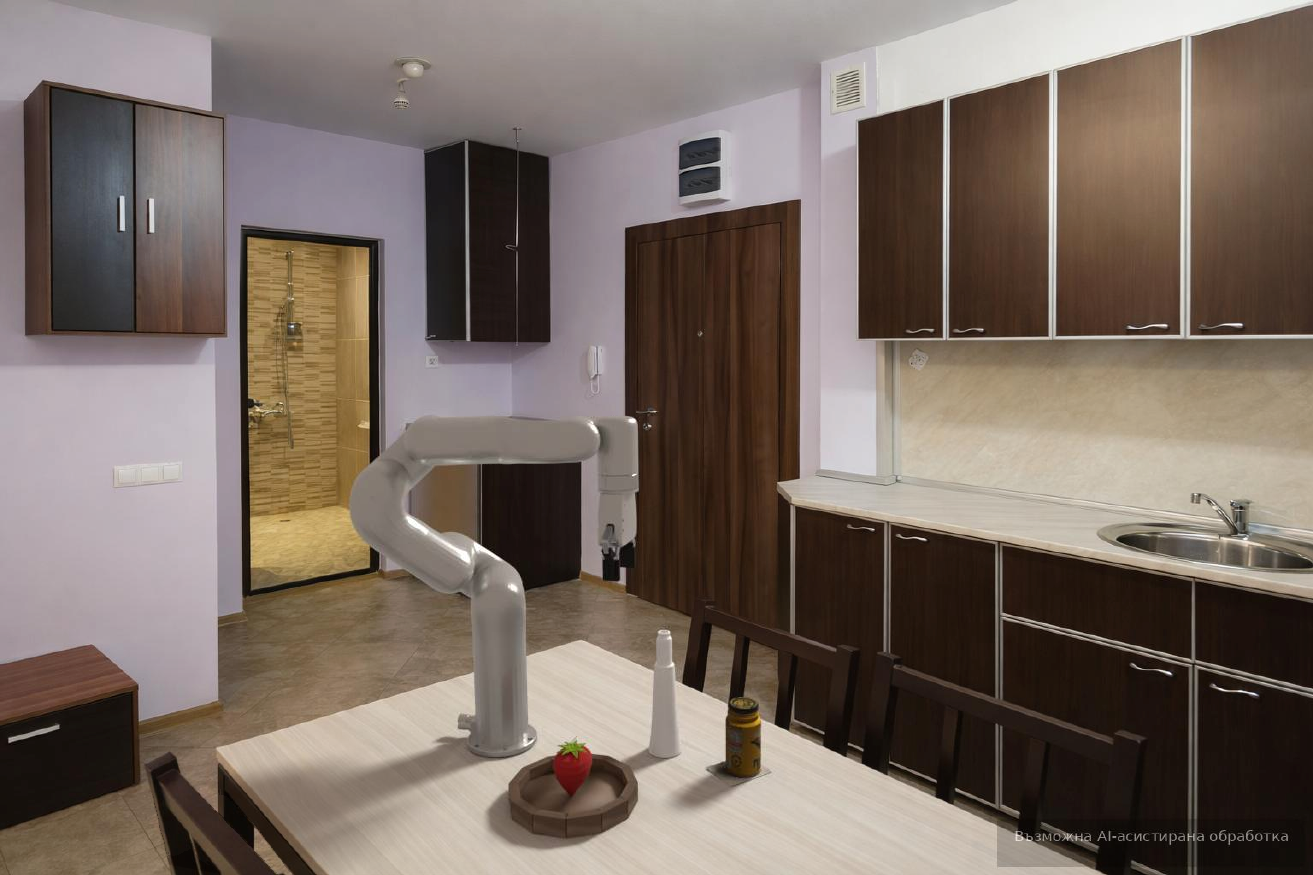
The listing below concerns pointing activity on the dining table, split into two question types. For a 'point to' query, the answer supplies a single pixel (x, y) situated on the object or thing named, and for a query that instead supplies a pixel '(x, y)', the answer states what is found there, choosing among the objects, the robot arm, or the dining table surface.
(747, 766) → the condiment
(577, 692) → the dining table surface
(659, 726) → the cosmetic bottle
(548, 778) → the tray
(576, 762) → the strawberry
